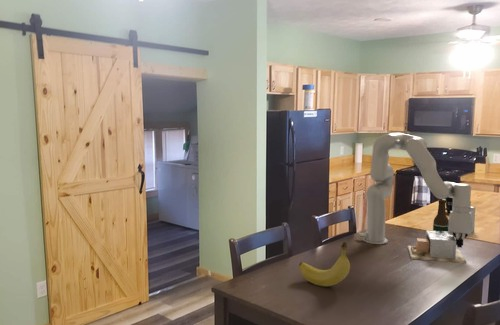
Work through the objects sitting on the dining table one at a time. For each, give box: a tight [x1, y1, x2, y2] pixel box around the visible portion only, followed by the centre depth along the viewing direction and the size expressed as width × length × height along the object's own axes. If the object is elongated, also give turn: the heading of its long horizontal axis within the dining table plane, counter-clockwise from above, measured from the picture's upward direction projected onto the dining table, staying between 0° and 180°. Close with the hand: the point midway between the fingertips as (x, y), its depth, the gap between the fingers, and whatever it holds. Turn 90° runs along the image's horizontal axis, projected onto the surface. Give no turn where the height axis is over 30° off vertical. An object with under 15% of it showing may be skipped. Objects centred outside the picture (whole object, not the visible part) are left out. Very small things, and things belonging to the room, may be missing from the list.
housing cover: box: [425, 229, 457, 259], centre depth 203 cm, size 11×16×9 cm
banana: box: [298, 241, 351, 287], centre depth 167 cm, size 23×6×20 cm, turn 50°
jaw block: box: [415, 237, 429, 252], centre depth 205 cm, size 5×5×6 cm
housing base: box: [407, 245, 467, 264], centre depth 204 cm, size 24×18×2 cm
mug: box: [439, 196, 472, 213], centre depth 292 cm, size 16×16×12 cm
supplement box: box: [470, 205, 476, 233], centre depth 246 cm, size 9×9×15 cm
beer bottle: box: [432, 199, 449, 232], centre depth 220 cm, size 8×8×24 cm
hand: (459, 246), depth 201 cm, fingers closed
